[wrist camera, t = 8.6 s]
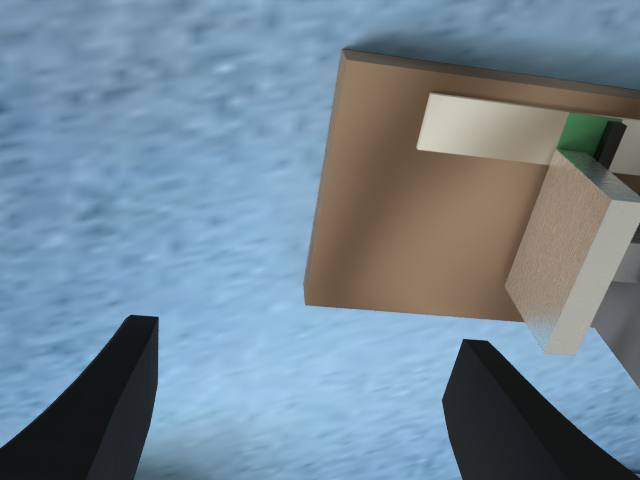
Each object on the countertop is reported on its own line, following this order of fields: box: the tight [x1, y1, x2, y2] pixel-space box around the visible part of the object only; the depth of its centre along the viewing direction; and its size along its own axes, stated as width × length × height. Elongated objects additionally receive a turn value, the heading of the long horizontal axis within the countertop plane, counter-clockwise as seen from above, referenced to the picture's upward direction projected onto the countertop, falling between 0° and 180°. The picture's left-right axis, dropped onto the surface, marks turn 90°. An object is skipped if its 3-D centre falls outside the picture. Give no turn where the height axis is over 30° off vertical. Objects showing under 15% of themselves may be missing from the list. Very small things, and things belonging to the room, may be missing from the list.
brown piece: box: [303, 49, 640, 388], centre depth 21 cm, size 20×10×6 cm, turn 82°
